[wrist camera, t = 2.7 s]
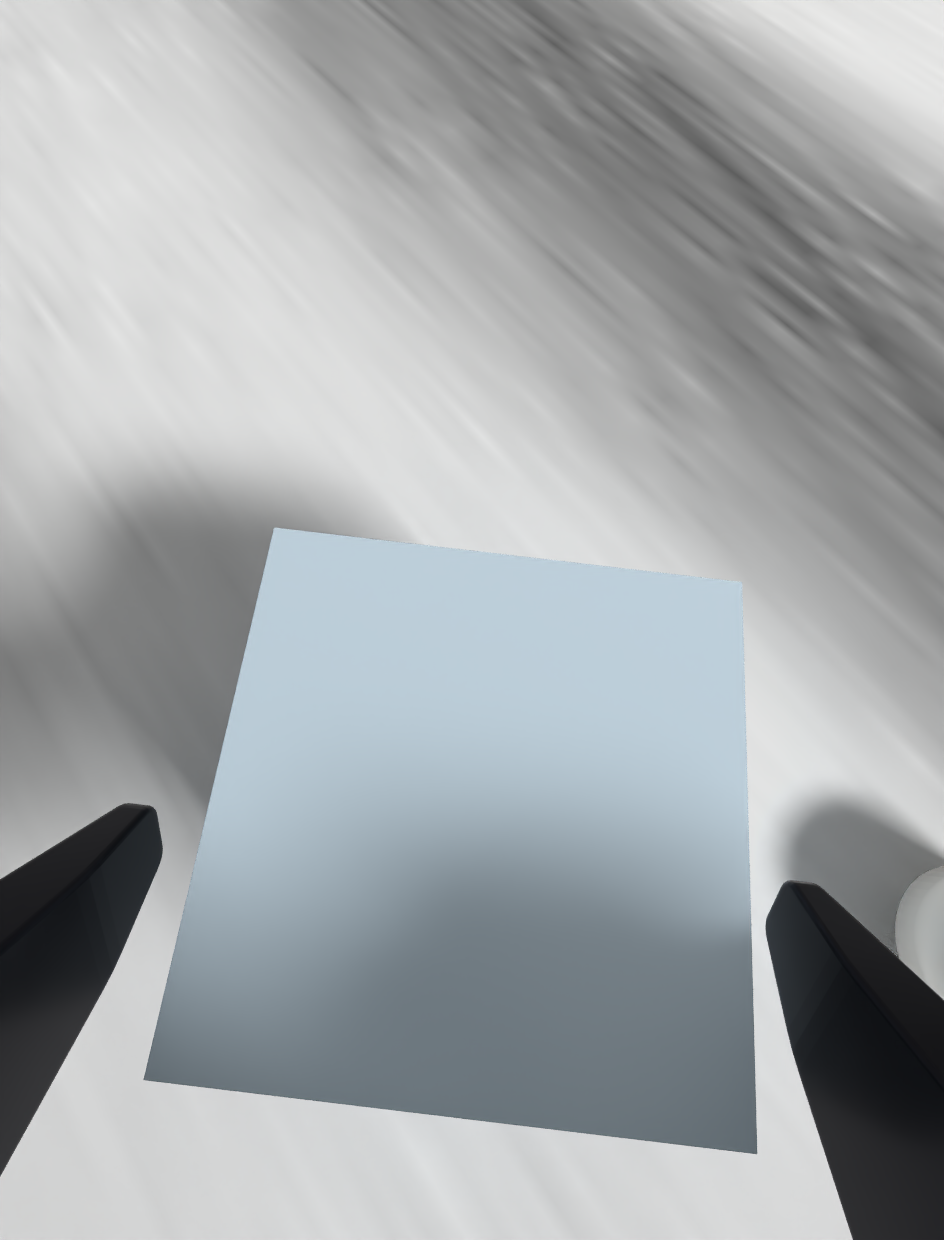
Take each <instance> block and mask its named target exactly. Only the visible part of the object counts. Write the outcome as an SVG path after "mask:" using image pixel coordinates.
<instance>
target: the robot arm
mask: <svg viewBox="0 0 944 1240" xmlns="http://www.w3.org/2000/svg"><path fill="white" fill-rule="evenodd" d="M162 851H163V846H162V840H161V834H160V828H159V822H158V817H157V812H156V810H155V809H154V808H153V807H151V806H148V805H139V804H131V803H127V804H123V805H120V806H118V807H116V808H115V809H113V810H112V811H110V812H108V813H107V814H105V815H103V816H102V817H100V818H99V819H97V820H95V821H94V822H92V823H91V824H89V825H87V826H86V827H84V828H82V829H81V830H79V831H78V832H76V833H74V834H73V835H71V836H69V837H68V838H66V839H65V840H63V841H61V842H60V843H58V844H57V845H55V846H53V847H52V848H50V849H48V850H47V851H45V852H44V853H42V854H40V855H39V856H37V857H36V858H34V859H32V860H31V861H29V862H27V863H26V864H24V865H23V866H21V867H19V868H18V869H16V870H15V871H13V872H11V873H10V874H8V875H6V876H5V877H3V878H2V879H0V1176H1V1174H2V1172H3V1171H4V1169H5V1167H6V1165H7V1163H8V1162H9V1160H10V1158H11V1156H12V1154H13V1153H14V1151H15V1149H16V1147H17V1145H18V1143H19V1142H20V1140H21V1138H22V1136H23V1134H24V1133H25V1131H26V1129H27V1127H28V1125H29V1124H30V1122H31V1120H32V1118H33V1116H34V1114H35V1113H36V1111H37V1109H38V1107H39V1105H40V1104H41V1102H42V1100H43V1098H44V1096H45V1095H46V1093H47V1091H48V1089H49V1087H50V1086H51V1084H52V1082H53V1080H54V1078H55V1076H56V1075H57V1073H58V1071H59V1069H60V1067H61V1066H62V1064H63V1062H64V1060H65V1058H66V1057H67V1055H68V1053H69V1051H70V1049H71V1047H72V1046H73V1044H74V1042H75V1040H76V1038H77V1037H78V1035H79V1033H80V1031H81V1029H82V1028H83V1026H84V1024H85V1022H86V1020H87V1019H88V1017H89V1015H90V1013H91V1011H92V1009H93V1008H94V1006H95V1004H96V1002H97V1000H98V999H99V997H100V995H101V993H102V991H103V990H104V988H105V986H106V984H107V982H108V980H109V978H110V976H111V974H112V972H113V970H114V968H115V966H116V964H117V962H118V959H119V957H120V955H121V953H122V951H123V948H124V946H125V944H126V941H127V939H128V937H129V934H130V932H131V930H132V927H133V925H134V923H135V920H136V918H137V916H138V913H139V911H140V909H141V906H142V904H143V902H144V899H145V897H146V895H147V892H148V890H149V888H150V885H151V883H152V881H153V879H154V876H155V874H156V872H157V869H158V867H159V864H160V861H161V858H162ZM766 937H767V941H768V946H769V950H770V955H771V960H772V964H773V969H774V973H775V978H776V982H777V987H778V991H779V996H780V1000H781V1005H782V1009H783V1014H784V1018H785V1023H786V1027H787V1032H788V1036H789V1040H790V1044H791V1048H792V1052H793V1055H794V1058H795V1062H796V1065H797V1068H798V1071H799V1075H800V1078H801V1081H802V1084H803V1087H804V1090H805V1093H806V1096H807V1099H808V1102H809V1105H810V1109H811V1112H812V1115H813V1118H814V1121H815V1124H816V1127H817V1130H818V1133H819V1136H820V1139H821V1143H822V1146H823V1149H824V1152H825V1155H826V1158H827V1161H828V1164H829V1167H830V1170H831V1173H832V1176H833V1180H834V1183H835V1186H836V1189H837V1192H838V1195H839V1198H840V1201H841V1204H842V1207H843V1210H844V1214H845V1217H846V1220H847V1223H848V1226H849V1229H850V1232H851V1235H852V1238H853V1240H944V1000H943V999H942V998H941V997H940V996H939V995H938V994H937V993H936V992H935V991H934V990H933V989H931V988H930V987H929V986H928V985H927V984H926V983H925V982H924V981H923V980H922V979H921V978H920V977H918V976H917V975H916V974H915V973H914V972H913V971H912V970H911V969H910V968H909V967H908V966H906V965H905V964H904V963H903V962H902V961H901V960H900V959H899V958H898V957H897V956H896V955H894V954H893V953H892V952H891V951H890V950H889V949H888V948H887V947H886V946H885V945H884V944H882V943H881V942H880V941H879V940H878V939H877V938H876V937H875V936H874V935H873V934H872V933H871V932H869V931H868V930H867V929H866V928H865V927H864V926H863V925H862V924H861V923H860V922H859V921H857V920H856V919H855V918H854V917H853V916H852V915H851V914H850V913H849V912H848V911H847V910H845V909H844V908H843V907H842V906H841V905H840V904H839V903H838V902H837V901H836V900H835V899H834V898H832V897H831V896H830V895H829V894H828V893H827V892H826V891H825V890H824V889H822V888H821V887H820V886H818V885H817V884H814V883H809V882H801V881H792V880H790V881H787V882H785V883H784V884H783V885H782V887H781V889H780V891H779V893H778V895H777V897H776V899H775V901H774V903H773V905H772V907H771V910H770V912H769V914H768V916H767V919H766Z"/></svg>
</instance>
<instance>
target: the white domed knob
mask: <svg viewBox="0 0 944 1240" xmlns="http://www.w3.org/2000/svg"><path fill="white" fill-rule="evenodd" d="M895 938H896V946H897V951H898V955H899V959H900V960H901V961H902V962H903V963H904V964H905V965H906V966H908V967H909V968H910V969H911V970H912V971H913V972H914V973H915V974H916V975H917V976H918V977H920V978H921V979H922V980H923V981H924V982H925V983H926V984H927V985H928V986H929V987H930V988H931V989H933V990H934V991H935V992H936V993H937V994H938V995H939V996H940V997H941V998H942V999H943V1000H944V866H942V867H937V868H934V869H931V870H929V871H927V872H925V873H923V874H922V875H920V876H919V877H918V878H917V879H915V880H914V881H913V882H912V883H911V885H910V886H909V887H908V888H907V890H906V891H905V893H904V895H903V897H902V899H901V901H900V903H899V907H898V910H897V915H896V922H895Z"/></svg>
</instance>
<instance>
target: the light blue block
mask: <svg viewBox="0 0 944 1240" xmlns="http://www.w3.org/2000/svg"><path fill="white" fill-rule="evenodd" d="M144 1080H148V1081H156V1082H164V1083H172V1084H181V1085H189V1086H197V1087H206V1088H214V1089H222V1090H230V1091H239V1092H247V1093H255V1094H264V1095H272V1096H280V1097H288V1098H297V1099H305V1100H313V1101H322V1102H330V1103H338V1104H346V1105H355V1106H363V1107H371V1108H380V1109H388V1110H396V1111H404V1112H413V1113H421V1114H429V1115H438V1116H446V1117H454V1118H462V1119H471V1120H479V1121H487V1122H496V1123H504V1124H512V1125H520V1126H529V1127H537V1128H545V1129H554V1130H562V1131H570V1132H578V1133H587V1134H595V1135H603V1136H612V1137H620V1138H628V1139H636V1140H645V1141H653V1142H661V1143H670V1144H678V1145H686V1146H694V1147H703V1148H711V1149H719V1150H728V1151H736V1152H744V1153H752V1154H757V1128H756V1090H755V1052H754V1014H753V977H752V939H751V901H750V863H749V826H748V788H747V750H746V712H745V675H744V637H743V599H742V582H736V581H728V580H719V579H711V578H702V577H693V576H685V575H676V574H668V573H659V572H651V571H642V570H634V569H625V568H616V567H608V566H599V565H591V564H582V563H574V562H565V561H556V560H548V559H539V558H531V557H522V556H514V555H505V554H497V553H488V552H479V551H471V550H462V549H454V548H445V547H437V546H428V545H420V544H411V543H402V542H394V541H385V540H377V539H368V538H360V537H351V536H342V535H334V534H325V533H317V532H308V531H300V530H291V529H283V528H274V530H273V535H272V539H271V543H270V547H269V552H268V556H267V560H266V564H265V568H264V573H263V577H262V581H261V585H260V590H259V594H258V598H257V602H256V607H255V611H254V615H253V619H252V623H251V628H250V632H249V636H248V640H247V645H246V649H245V653H244V657H243V662H242V666H241V670H240V674H239V678H238V683H237V687H236V691H235V695H234V700H233V704H232V708H231V712H230V717H229V721H228V725H227V729H226V733H225V738H224V742H223V746H222V750H221V755H220V759H219V763H218V767H217V771H216V776H215V780H214V784H213V788H212V793H211V797H210V801H209V805H208V810H207V814H206V818H205V822H204V826H203V831H202V835H201V839H200V843H199V848H198V852H197V856H196V860H195V865H194V869H193V873H192V877H191V881H190V886H189V890H188V894H187V898H186V903H185V907H184V911H183V915H182V920H181V924H180V928H179V932H178V936H177V941H176V945H175V949H174V953H173V958H172V962H171V966H170V970H169V975H168V979H167V983H166V987H165V991H164V996H163V1000H162V1004H161V1008H160V1013H159V1017H158V1021H157V1025H156V1030H155V1034H154V1038H153V1042H152V1046H151V1051H150V1055H149V1059H148V1063H147V1068H146V1072H145V1076H144Z"/></svg>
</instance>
